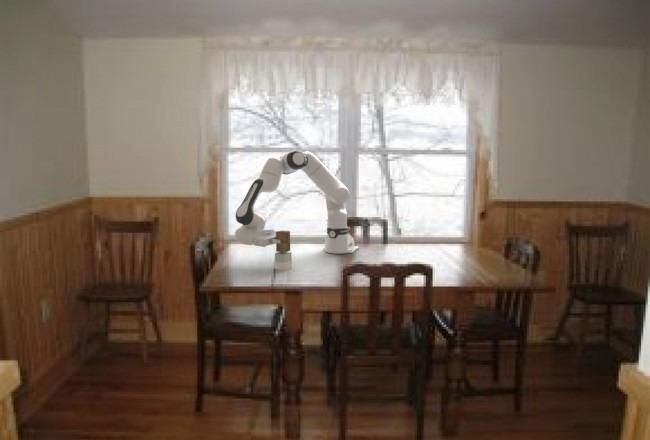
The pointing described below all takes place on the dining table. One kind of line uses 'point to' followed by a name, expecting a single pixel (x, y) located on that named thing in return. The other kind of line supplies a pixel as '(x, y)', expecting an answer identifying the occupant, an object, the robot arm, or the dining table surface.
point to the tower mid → (283, 257)
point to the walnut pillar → (283, 241)
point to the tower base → (283, 265)
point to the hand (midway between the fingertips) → (284, 240)
